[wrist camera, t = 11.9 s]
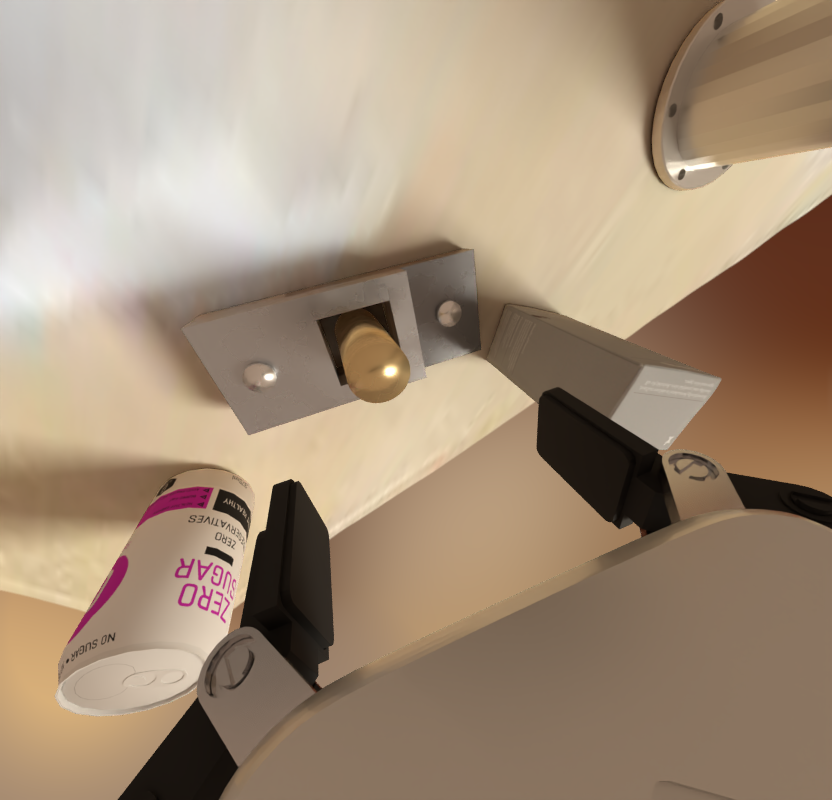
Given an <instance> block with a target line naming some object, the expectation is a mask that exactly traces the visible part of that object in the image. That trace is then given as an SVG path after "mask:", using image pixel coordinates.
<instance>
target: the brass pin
mask: <svg viewBox="0 0 832 800" xmlns="http://www.w3.org/2000/svg"><path fill="white" fill-rule="evenodd" d="M335 335H336V339H337V343H338V347H339V351H340V355H341V359H342V363H343V367H344V371H345V375H346V379H347V382H348V385H349V388H350V389H351V391H352V392H353V393H354V394H355V395H356V396H357V397H358V398H360V399H362V400H364V401H367V402H371V403H382V402H386V401H389V400H391V399H393V398H395V397H396V396H398V395H399V394H400V393H401V392H402V391H403V390H404V389H405V387H406V385H407V384H408V381H409V378H410V364H409V361H408V359H407V357H406V355H405V354H404V353H403V351H402V350H401V349H400V348H399V346H398V345H397V344H396V343H395V341H394V340H393V339H392V338H391V336H390V335H389V334H388V333H387V331H386V330H385V329H384V328H383V327H382V325H381V324H380V323H379V322H378V320H377V319H376V318H375V317H374V315H372V314H371V313H370V312H369V311H367V310H364V309H355V310H352V311H348V312H344V313H343V314H342V315H341V316H340V317H339V318H338V320H337V322H336V325H335Z"/></svg>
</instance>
